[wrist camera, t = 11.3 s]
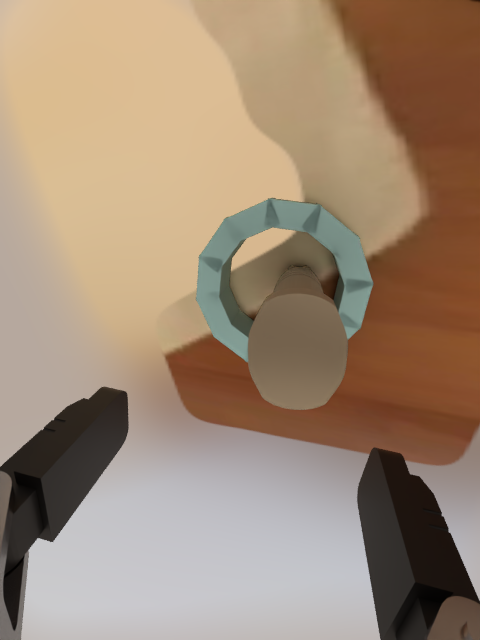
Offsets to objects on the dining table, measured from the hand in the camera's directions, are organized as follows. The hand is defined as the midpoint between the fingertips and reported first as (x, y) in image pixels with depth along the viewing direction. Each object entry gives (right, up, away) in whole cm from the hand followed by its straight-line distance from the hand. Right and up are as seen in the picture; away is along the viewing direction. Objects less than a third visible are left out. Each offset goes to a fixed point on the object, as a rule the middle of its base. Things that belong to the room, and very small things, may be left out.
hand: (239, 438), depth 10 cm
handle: (+5, +8, +19) cm, 21 cm away
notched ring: (+4, +8, +19) cm, 21 cm away
